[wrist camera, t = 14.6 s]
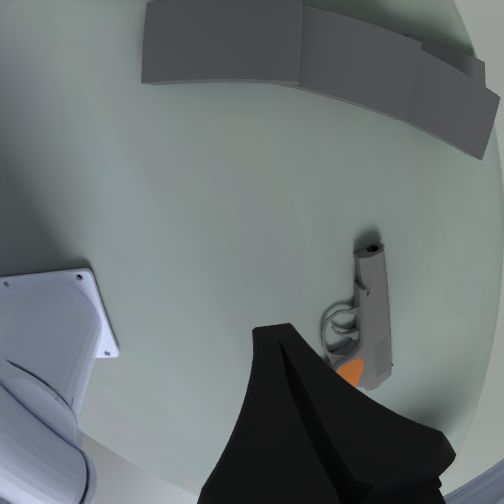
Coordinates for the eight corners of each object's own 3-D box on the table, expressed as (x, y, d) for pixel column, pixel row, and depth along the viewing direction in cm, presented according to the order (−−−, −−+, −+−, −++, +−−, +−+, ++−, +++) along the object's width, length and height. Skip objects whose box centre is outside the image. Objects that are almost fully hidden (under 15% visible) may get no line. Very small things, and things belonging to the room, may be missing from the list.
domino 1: (141, 83, 14) (299, 82, 13) (147, 2, 12) (303, -7, 11) (155, 85, 16) (299, 85, 15) (161, 10, 13) (303, 5, 13)
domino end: (410, 101, 17) (485, 118, 18) (408, 34, 15) (484, 62, 16) (395, 101, 18) (470, 116, 19) (393, 37, 16) (469, 62, 17)
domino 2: (258, 77, 15) (404, 120, 14) (277, 0, 13) (421, 42, 12) (263, 81, 16) (395, 119, 16) (280, 10, 14) (412, 48, 14)
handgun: (227, 296, 23) (378, 239, 23) (283, 410, 30) (388, 367, 30) (230, 310, 21) (389, 249, 21) (287, 423, 28) (395, 378, 28)
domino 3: (376, 107, 16) (481, 160, 16) (396, 38, 14) (500, 97, 13) (370, 108, 17) (469, 155, 17) (389, 43, 15) (487, 96, 15)
